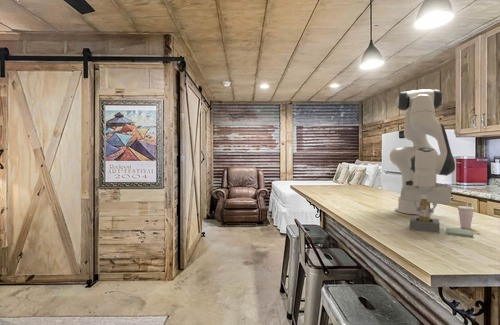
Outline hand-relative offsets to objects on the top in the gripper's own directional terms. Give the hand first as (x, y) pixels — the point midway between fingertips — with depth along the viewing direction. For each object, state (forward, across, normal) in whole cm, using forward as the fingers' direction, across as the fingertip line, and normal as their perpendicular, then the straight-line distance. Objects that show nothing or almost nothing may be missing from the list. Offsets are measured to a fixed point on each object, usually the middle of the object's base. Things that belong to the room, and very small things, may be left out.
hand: (424, 211), depth 134 cm
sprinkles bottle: (+6, 0, 0) cm, 6 cm away
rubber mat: (+8, -13, 0) cm, 15 cm away
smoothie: (+8, -14, -14) cm, 21 cm away
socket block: (+8, 0, 0) cm, 8 cm away
